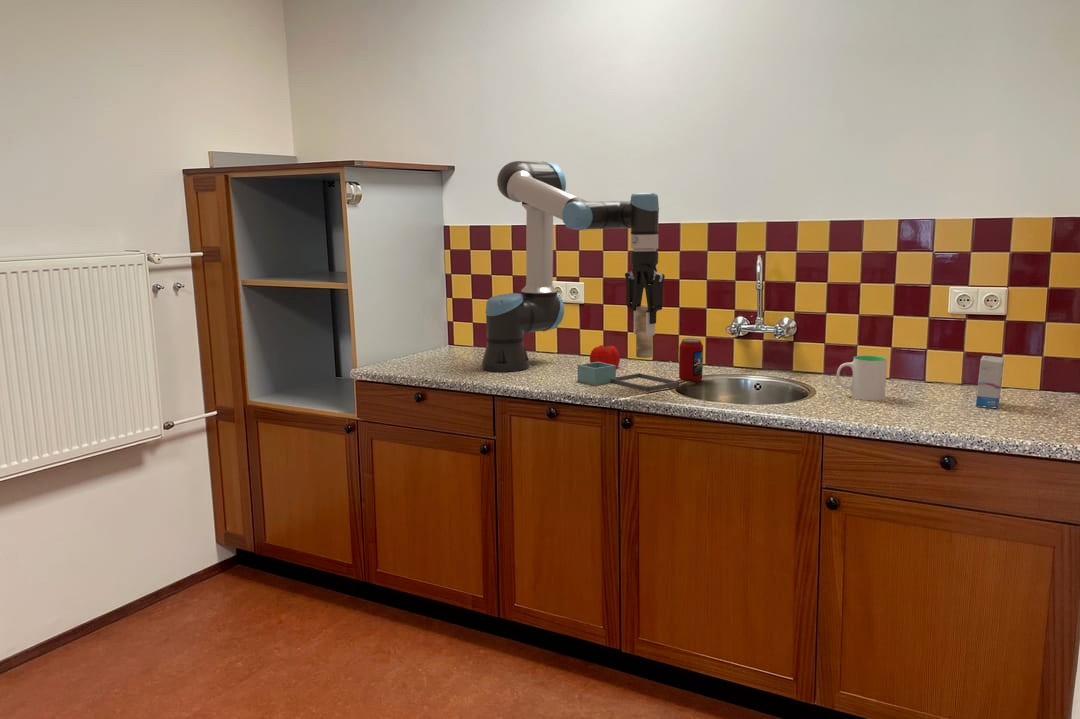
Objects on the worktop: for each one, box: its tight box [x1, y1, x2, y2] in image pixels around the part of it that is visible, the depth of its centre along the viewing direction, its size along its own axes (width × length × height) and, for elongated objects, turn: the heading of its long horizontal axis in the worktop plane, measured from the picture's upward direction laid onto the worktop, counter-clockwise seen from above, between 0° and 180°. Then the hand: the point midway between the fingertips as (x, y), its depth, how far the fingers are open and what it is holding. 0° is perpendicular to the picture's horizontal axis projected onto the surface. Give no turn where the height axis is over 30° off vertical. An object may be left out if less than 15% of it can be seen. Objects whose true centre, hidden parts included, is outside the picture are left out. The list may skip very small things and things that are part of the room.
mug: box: [836, 355, 888, 401], centre depth 210 cm, size 12×8×10 cm
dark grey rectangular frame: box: [611, 372, 680, 395], centre depth 227 cm, size 16×12×2 cm
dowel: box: [635, 305, 653, 359], centre depth 225 cm, size 4×4×14 cm
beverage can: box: [678, 338, 704, 383], centre depth 233 cm, size 7×7×12 cm
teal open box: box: [576, 362, 617, 386], centre depth 231 cm, size 8×8×6 cm
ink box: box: [975, 355, 1005, 409], centre depth 199 cm, size 9×5×12 cm, turn 148°
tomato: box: [589, 344, 621, 369], centre depth 252 cm, size 9×9×8 cm
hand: (644, 334), depth 225 cm, fingers closed on dowel, 4 cm apart
